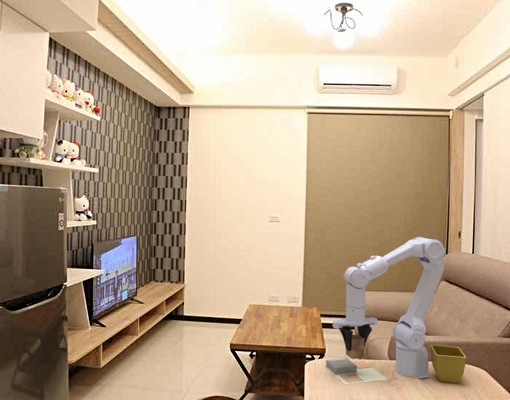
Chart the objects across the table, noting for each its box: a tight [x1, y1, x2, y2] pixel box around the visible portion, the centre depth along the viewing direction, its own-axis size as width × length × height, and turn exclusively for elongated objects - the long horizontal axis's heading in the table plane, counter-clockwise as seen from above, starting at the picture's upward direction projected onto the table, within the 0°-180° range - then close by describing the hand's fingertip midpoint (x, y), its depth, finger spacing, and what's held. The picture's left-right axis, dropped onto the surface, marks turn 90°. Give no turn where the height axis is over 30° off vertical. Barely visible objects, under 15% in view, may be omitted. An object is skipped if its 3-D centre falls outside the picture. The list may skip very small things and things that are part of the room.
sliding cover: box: [325, 357, 357, 376], centre depth 136 cm, size 8×6×2 cm
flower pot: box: [429, 344, 467, 384], centre depth 133 cm, size 9×9×9 cm
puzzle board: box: [325, 360, 388, 385], centre depth 135 cm, size 14×14×1 cm
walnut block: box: [345, 333, 365, 360], centre depth 133 cm, size 4×4×6 cm
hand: (354, 349), depth 133 cm, fingers closed on walnut block, 4 cm apart
